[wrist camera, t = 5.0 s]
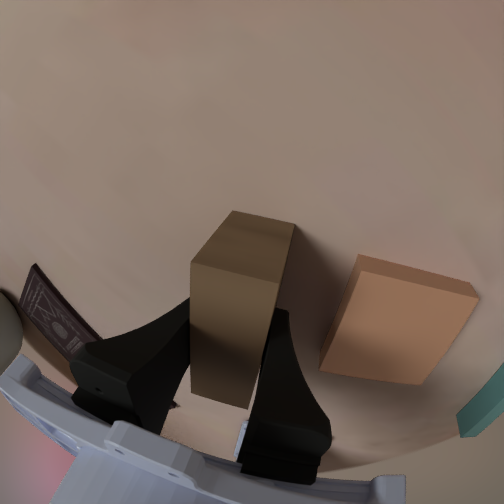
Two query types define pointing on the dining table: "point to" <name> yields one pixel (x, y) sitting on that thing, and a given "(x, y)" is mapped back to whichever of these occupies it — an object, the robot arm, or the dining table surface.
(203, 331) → the tall cardboard box
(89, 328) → the chocolate bar
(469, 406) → the rail
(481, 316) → the dining table surface
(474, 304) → the tile
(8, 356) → the olive grey vase
